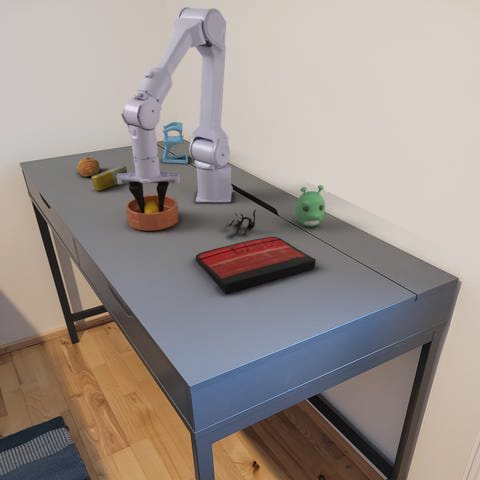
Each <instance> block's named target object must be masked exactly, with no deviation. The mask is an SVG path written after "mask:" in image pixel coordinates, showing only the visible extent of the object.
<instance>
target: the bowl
mask: <svg viewBox="0 0 480 480" xmlns="http://www.w3.org/2000/svg"><path fill="white" fill-rule="evenodd" d="M143 196H144V202H145V203H146V202H148V201H150V200H154V201H156V202H158V203H159V199H158V194H146V195H143ZM178 206H179V204H178V201H177V199H175V198H173V197H172V196H168V195H165V200H164V211H163V212H159V213H150V214H145V213H141V210H140V207H139V205H138V203H137V201H136V199H135V198H132V199H130V200H129V201H128V202H127V203H126V204H125V213H126V219H127V223H128V225H129V226H130V227H131V228H133V229H136V230H139V231H147V232H149V231H160V230H164V229H168V228H170V227H173V226H174V225H175V224H177V223H178V222H179V218H180V216H179V207H178Z"/></svg>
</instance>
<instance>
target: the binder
mask: <svg viewBox="0 0 480 480" xmlns="http://www.w3.org/2000/svg"><path fill="white" fill-rule="evenodd" d="M195 261H196V263H197V265H199V266H200V267H201V268H202V269H203V270H204V272H205V273H206V274H207V275H208V276H209V277H210V278H211V280H212V281H213V282H214V283H215V284H216V285H217V286H218V288H219V289H220V290H221V291H222V293H224V294H229V293H232V292H236V291H239V290H243V289H247V288H250V287H251V288H252V287H254V286H257V285H261V284H265V283H268V282H271V281H274V280H278V279H281V278H285V277H289V276H292V275H296V274H299V273H302V272H306V271H309V270H312V269H315V267H316V261H317V260H316V259H315V258H314V257H312V256H310V255H309V254H306V253H305V252H304V251H301V250H300V249H298V248H297V247H295V246H294V245H292V244H290V243H289V242H286V240H284V239H282V238H280V237H278V236H267V237H261V238H255V239H250V240H246V241H241V242H237V243H233V244H229V245H225V246H220V247H217V248H213V249H210V250H205V251H202V252H200V253H197V254H196V255H195Z"/></svg>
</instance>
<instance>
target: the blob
mask: <svg viewBox="0 0 480 480" xmlns="http://www.w3.org/2000/svg"><path fill="white" fill-rule="evenodd" d="M159 212H160V211H159V203H158V202H156V201H154V200H150V201H148V202H146V203H145V205H144V213H145V214H150V213H159Z"/></svg>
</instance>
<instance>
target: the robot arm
mask: <svg viewBox="0 0 480 480" xmlns="http://www.w3.org/2000/svg"><path fill="white" fill-rule="evenodd" d="M226 31H227V21H226V19H225V17H224V16H223V14H222V13H221V11H220V10H219V9H217V8H214V7H213V8H211V7H210V8H197V7H194V8H193V7H190V6H189V7H187V6H186V7H183V8H181V9H180V10H179V12H178V14H177V17H176V18H175V19H174V20H173V32H172V33H171V36H170V39H169V41H168V43H167V45H166V47H165V50H164V52H163V54H162V56H161V58H160V59H159V61H158V63H157V66H156V67H150V68H149V69H148V70H146V71H145V73H144V78H143V79H142V82H141V83H140V85H139V87H138V89H137V91H135V93H134V95H133V97H132V98H130V99H128V100H127V101H126V102H125V104H124V106H123V108H122V109H123V110H122V113H121V119H122V121H123V122H124V124H125V125H126V126H127V131H128V133H129V135H130V143H131V151H132V157H133V158H132V159H133V165H134V171H133V172H127V173H120V174H118V175H117V182H118V184H117V185H123V184H128V191H129V192H130V193H131V194H132V196H133V197H134V199H136V201H137V203H138V205H139V207H140V210H141V213H144V205H145V202H144V196H145V195H144V184H157V185H156V187H155V188H156V193H157V195H158V199H159V211H160V212H163V211H164V200H165V196H167V192H168V188H169V186H170V184H174V185H179V184H180V181H181V179H180V173H179V172H167V171H161V169H160V159H159V149H158V140H157V131H156V127H157V125H158V124H160V120H161V110H162V105H163V103H164V101H165V99H166V97H167V96H168V94H169V92H170V90H171V89H172V87H173V80H172V79H173V78H172V76H173V74H174V72H175V71H176V70H177V68H178V67H179V65H180V63H181V62H182V60H183V59H184V58H185V56H186V54H187V53H188V51H189V50H190V49H191V48H195V49H196V50H197V51H198V52H199V54H200V55H201V78H200V79H201V81H200V83H201V84H200V101H199V125H198V126H197V127H196V128H195V129H194V130H193V131H192V134H191V141H190V143H189V147H188V148H189V149H188V153H189V156H190V158H191V160H193V162H194V165H195V166H196V178H197V179H196V180H197V181H196V182H197V194H196V198H195V203H231V202H232V195H233V192H234V191H233V189H234V188H233V185H232V165H231V164H227V163H228V162H229V159H230V156H231V154H230V153H231V151H230V145H229V136H228V135H227V133H226V132H225V130H224V129H222V114H223V113H222V112H223V99H224V98H223V96H224V81H225V68H226V67H225V66H226V49H227V48H226V33H227V32H226Z"/></svg>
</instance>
